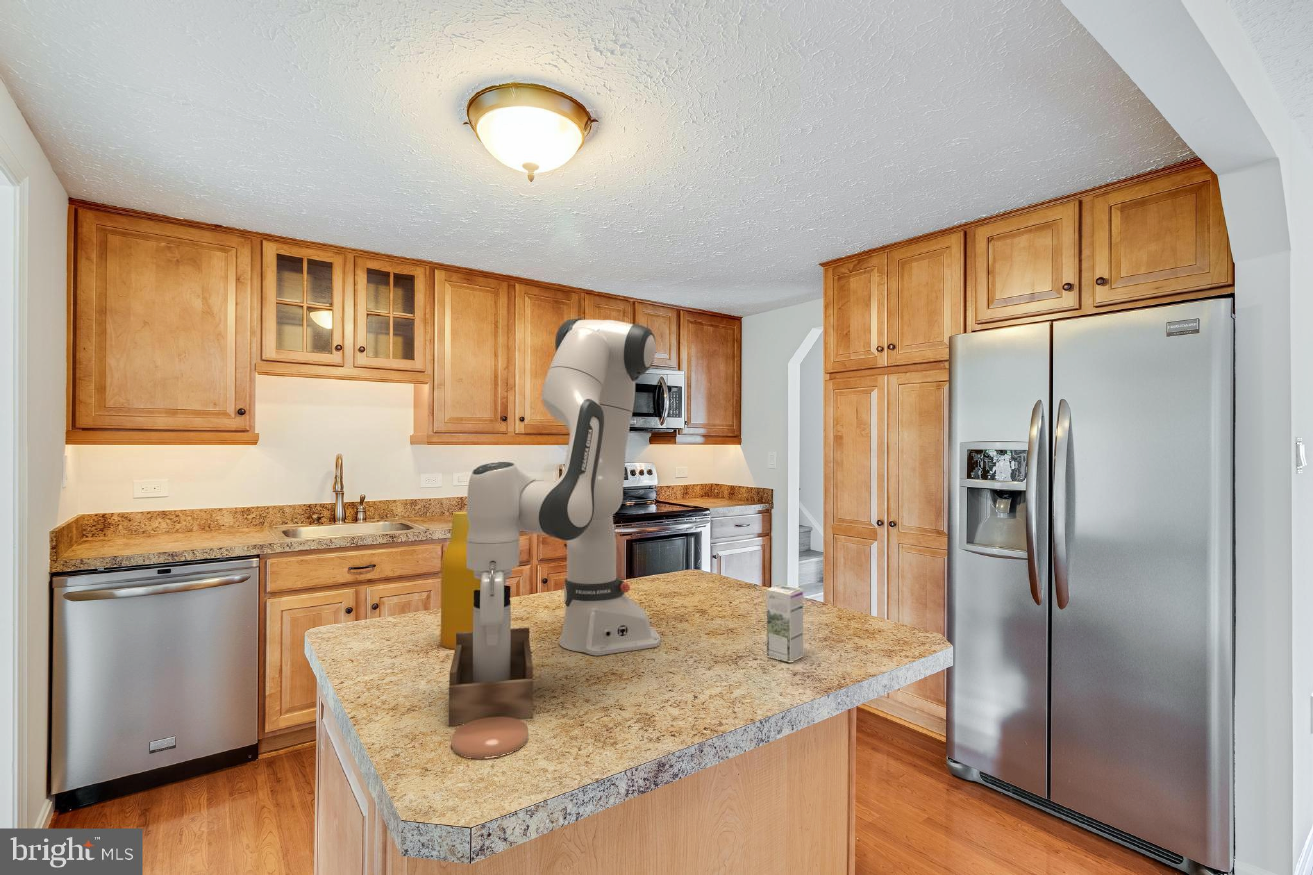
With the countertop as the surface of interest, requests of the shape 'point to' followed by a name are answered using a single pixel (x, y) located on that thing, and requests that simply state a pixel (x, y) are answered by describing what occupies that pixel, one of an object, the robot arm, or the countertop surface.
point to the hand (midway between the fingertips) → (492, 636)
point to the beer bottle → (457, 584)
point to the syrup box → (785, 622)
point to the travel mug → (491, 659)
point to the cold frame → (491, 683)
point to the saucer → (489, 737)
